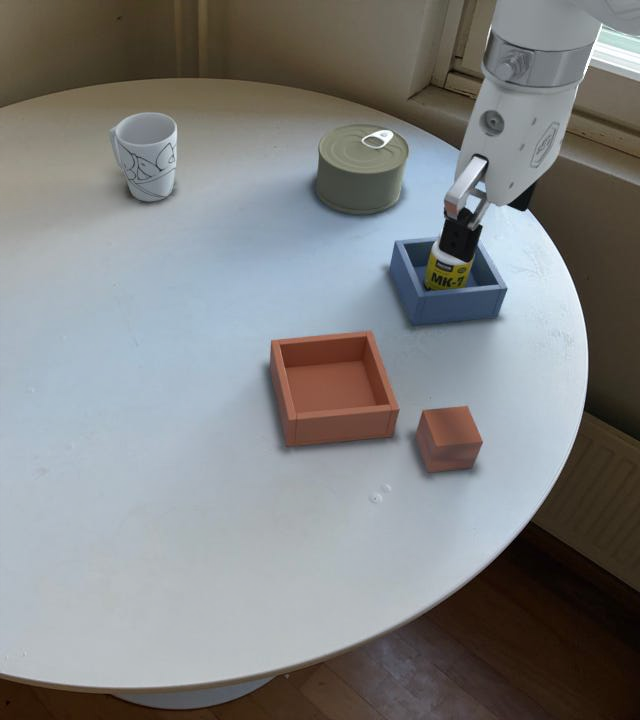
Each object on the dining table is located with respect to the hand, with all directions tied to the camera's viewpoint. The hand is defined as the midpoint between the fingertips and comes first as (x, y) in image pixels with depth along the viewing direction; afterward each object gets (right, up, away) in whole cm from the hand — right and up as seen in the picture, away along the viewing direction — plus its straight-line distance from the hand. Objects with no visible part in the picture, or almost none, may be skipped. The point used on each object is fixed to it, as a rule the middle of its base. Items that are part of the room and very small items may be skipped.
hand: (483, 229), depth 71 cm
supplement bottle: (+4, -4, +21) cm, 22 cm away
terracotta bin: (-12, -17, +12) cm, 24 cm away
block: (-1, -22, +6) cm, 23 cm away
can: (-2, +12, +37) cm, 39 cm away
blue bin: (+4, -4, +22) cm, 22 cm away
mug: (-33, +13, +41) cm, 54 cm away
